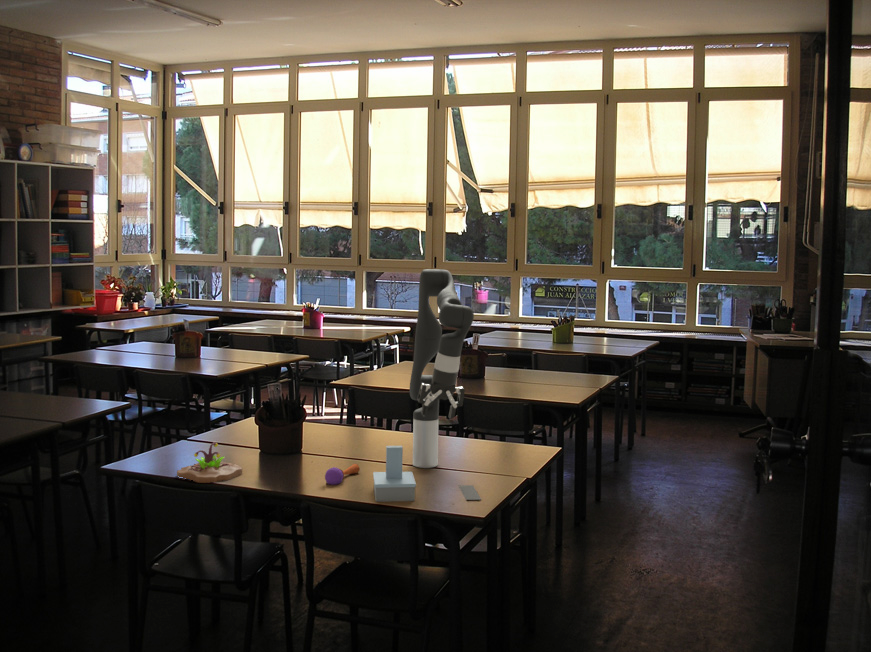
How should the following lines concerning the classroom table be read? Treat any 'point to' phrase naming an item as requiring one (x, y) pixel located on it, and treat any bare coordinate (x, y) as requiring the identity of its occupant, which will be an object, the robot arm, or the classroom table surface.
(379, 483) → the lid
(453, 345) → the robot arm
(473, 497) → the rubber mat
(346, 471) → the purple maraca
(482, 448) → the classroom table surface
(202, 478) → the plant
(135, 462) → the classroom table surface
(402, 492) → the parts tub
